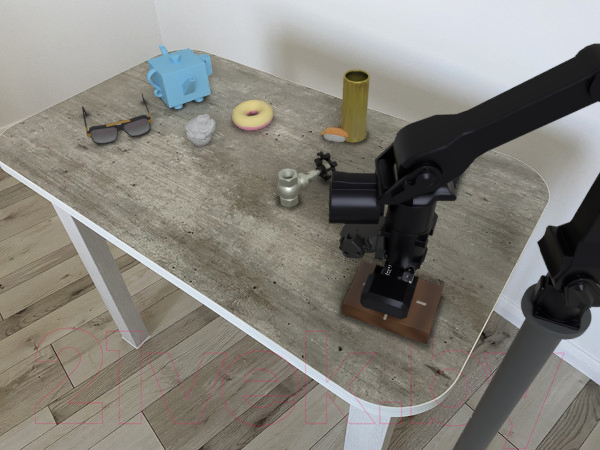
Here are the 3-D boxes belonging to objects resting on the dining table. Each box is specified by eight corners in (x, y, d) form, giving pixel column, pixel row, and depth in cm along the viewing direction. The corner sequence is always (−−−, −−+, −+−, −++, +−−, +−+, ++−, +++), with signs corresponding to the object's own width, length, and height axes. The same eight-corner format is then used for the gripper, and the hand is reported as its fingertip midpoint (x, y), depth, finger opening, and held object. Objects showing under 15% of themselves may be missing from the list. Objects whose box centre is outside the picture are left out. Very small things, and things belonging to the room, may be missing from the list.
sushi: (347, 145, 104) (347, 133, 102) (318, 141, 105) (318, 129, 103) (349, 138, 106) (350, 126, 104) (321, 134, 107) (321, 122, 105)
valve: (291, 215, 89) (339, 187, 94) (289, 188, 84) (340, 160, 90) (270, 196, 93) (317, 171, 98) (267, 170, 88) (317, 144, 93)
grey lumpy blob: (216, 152, 103) (211, 125, 98) (184, 151, 104) (177, 124, 99) (221, 136, 107) (217, 108, 102) (191, 135, 108) (185, 107, 103)
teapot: (168, 123, 111) (156, 79, 103) (140, 90, 122) (128, 47, 114) (229, 102, 117) (222, 58, 109) (198, 72, 128) (190, 30, 120)
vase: (349, 124, 110) (352, 65, 99) (371, 133, 107) (377, 74, 97) (333, 136, 106) (335, 77, 96) (356, 146, 103) (360, 86, 93)
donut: (277, 121, 115) (242, 109, 116) (280, 103, 112) (244, 91, 113) (261, 139, 107) (223, 126, 108) (264, 120, 104) (225, 107, 106)
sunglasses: (144, 101, 118) (139, 83, 115) (156, 134, 108) (150, 115, 105) (85, 114, 115) (78, 96, 111) (92, 150, 105) (84, 130, 101)
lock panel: (440, 295, 76) (444, 283, 74) (425, 346, 70) (429, 334, 67) (362, 270, 80) (363, 258, 77) (341, 316, 74) (342, 304, 71)
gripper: (369, 161, 69) (362, 235, 80) (323, 252, 57) (321, 324, 69) (447, 179, 66) (428, 254, 77) (415, 280, 54) (398, 351, 65)
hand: (394, 292), depth 72 cm, fingers closed, pressing on lock knob
